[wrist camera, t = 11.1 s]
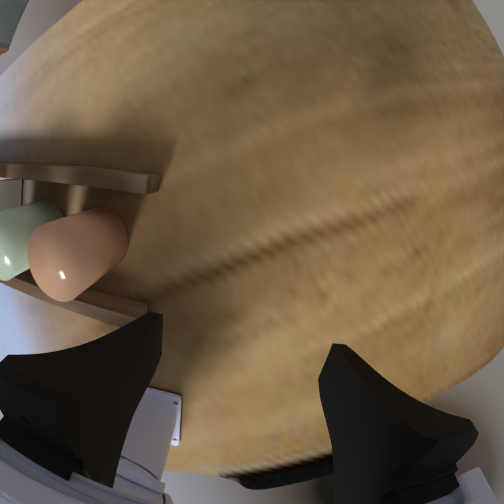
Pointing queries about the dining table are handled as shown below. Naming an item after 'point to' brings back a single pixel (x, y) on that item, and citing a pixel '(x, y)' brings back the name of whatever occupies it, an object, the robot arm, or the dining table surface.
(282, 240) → the dining table surface
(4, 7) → the alarm clock
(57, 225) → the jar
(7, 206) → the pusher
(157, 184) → the lane
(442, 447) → the robot arm
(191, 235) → the dining table surface
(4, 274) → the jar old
